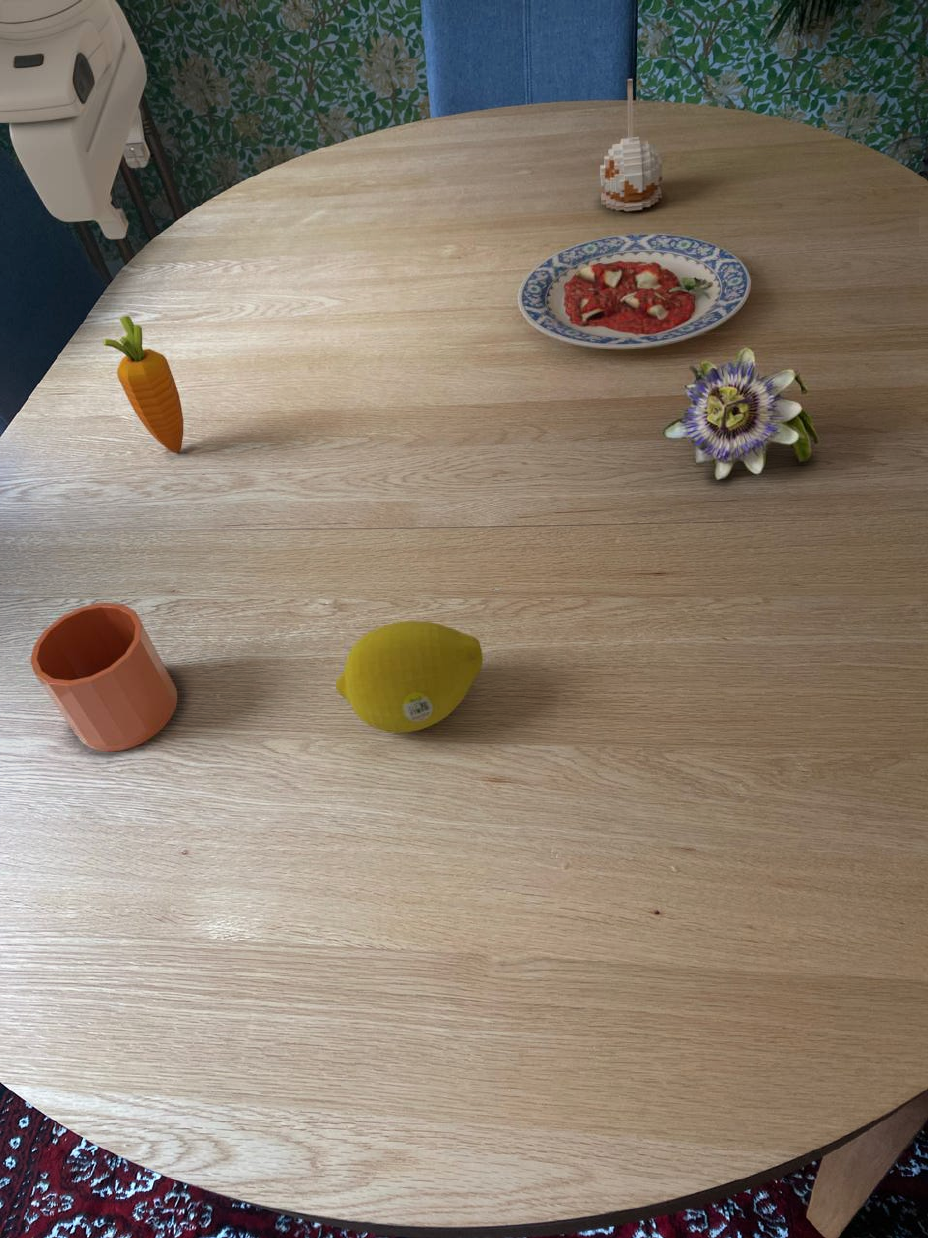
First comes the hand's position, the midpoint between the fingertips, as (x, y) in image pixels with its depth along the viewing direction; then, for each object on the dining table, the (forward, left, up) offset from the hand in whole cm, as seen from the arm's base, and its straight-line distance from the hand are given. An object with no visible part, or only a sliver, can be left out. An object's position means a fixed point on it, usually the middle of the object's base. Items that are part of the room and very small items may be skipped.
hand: (129, 196), depth 84 cm
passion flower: (+49, -17, -26) cm, 58 cm away
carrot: (-5, +1, -26) cm, 27 cm away
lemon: (+16, -40, -26) cm, 51 cm away
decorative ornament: (+54, +39, -26) cm, 72 cm away
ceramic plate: (+47, +13, -26) cm, 55 cm away
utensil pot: (-7, -34, -26) cm, 44 cm away
